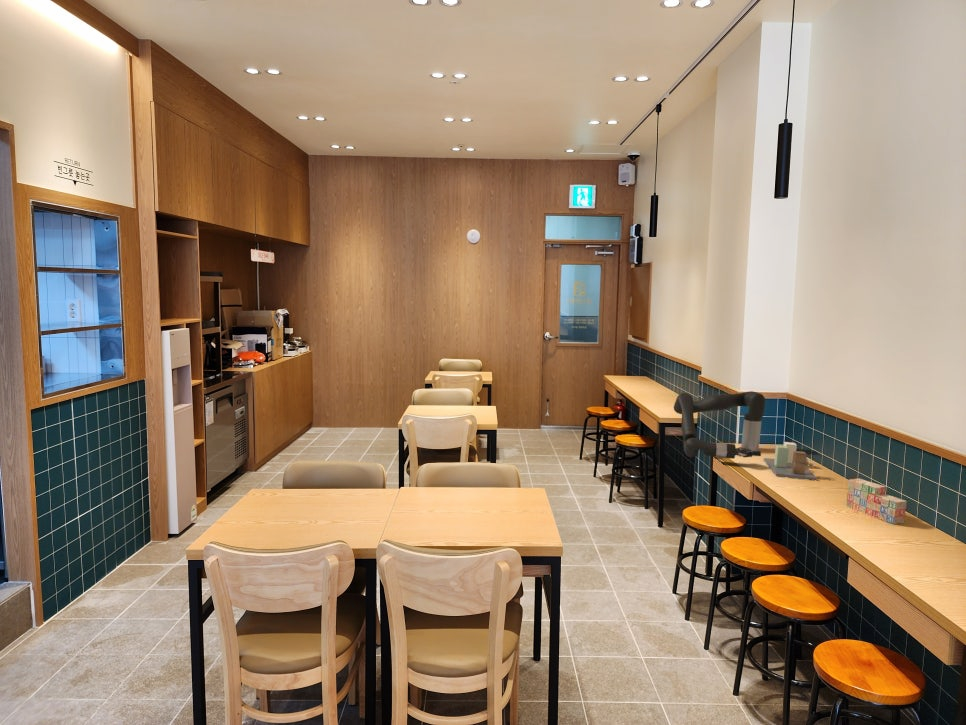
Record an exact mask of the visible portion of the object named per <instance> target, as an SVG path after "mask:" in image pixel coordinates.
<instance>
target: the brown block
mask: <svg viewBox="0 0 966 725" xmlns="http://www.w3.org/2000/svg"><path fill="white" fill-rule="evenodd" d="M807 457H808V454H807V453H806V451H799V450H798V451H797V450H796V451H793V459H792V469H791V471H792V472H793V473H796V474H805V468H807V466H806V459H808V458H807Z"/></svg>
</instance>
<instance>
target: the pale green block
mask: <svg viewBox="0 0 966 725" xmlns="http://www.w3.org/2000/svg"><path fill="white" fill-rule="evenodd" d="M788 452H789V448H788V447H787V446H784V445H780V444H779V445H777V444H775V450H774V459H775V460H774V465H775V466H776V467H785V468H787V461H788Z"/></svg>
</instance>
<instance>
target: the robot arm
mask: <svg viewBox="0 0 966 725" xmlns="http://www.w3.org/2000/svg"><path fill="white" fill-rule="evenodd" d="M735 407H746V408H747V407H748V412H747V413H745V414H744V416H743V426H742V436H741V446H740V447H736V444H734V443H726V442H710V441H706V440H704V439H703V440H702V439H699V438H697V430H696V425H695V424H696V423H695V420H694V419H695V418H694V414H696V413H703V412H714V411H716V412H717V411H726V410H729V409H733V408H735ZM765 408H766V398H765V396H764V395H763V394H762V393H760V392H757V391H750V390H749V391H745V392H740V393H717V394H710V395H708V396H705V397H703V398H701V399H700V400H697V401H694V398H693V396H692V395H691V394H689V393H687V392H681V393H679V394H678V395H677V396H676V399H675V401H674V404H673V411H674V412H675V413H677V414H679V415H681V432H682V437H683V451H684V453H685V455H686V456H687V457H689V458H694V457H696V456H697V455H698V453H699V451H703V452H702V453H703V454H704V455H705V456H707V457H717V458H723V459H735V457H736V456H738V457H741V458H752V457H753V456H755V457H761V455H762V452H761V451H759V449H760V441H761V440H760V438H761V428H762V419H763V417H764V415H765V414H764V413H765Z"/></svg>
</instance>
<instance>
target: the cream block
mask: <svg viewBox="0 0 966 725" xmlns="http://www.w3.org/2000/svg"><path fill="white" fill-rule="evenodd" d="M783 446H787V447H788V448H789V452H788V461H787V463H791V464H792V459H793V451H797V446H798V445H797V444H796V442H788V441H783Z"/></svg>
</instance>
